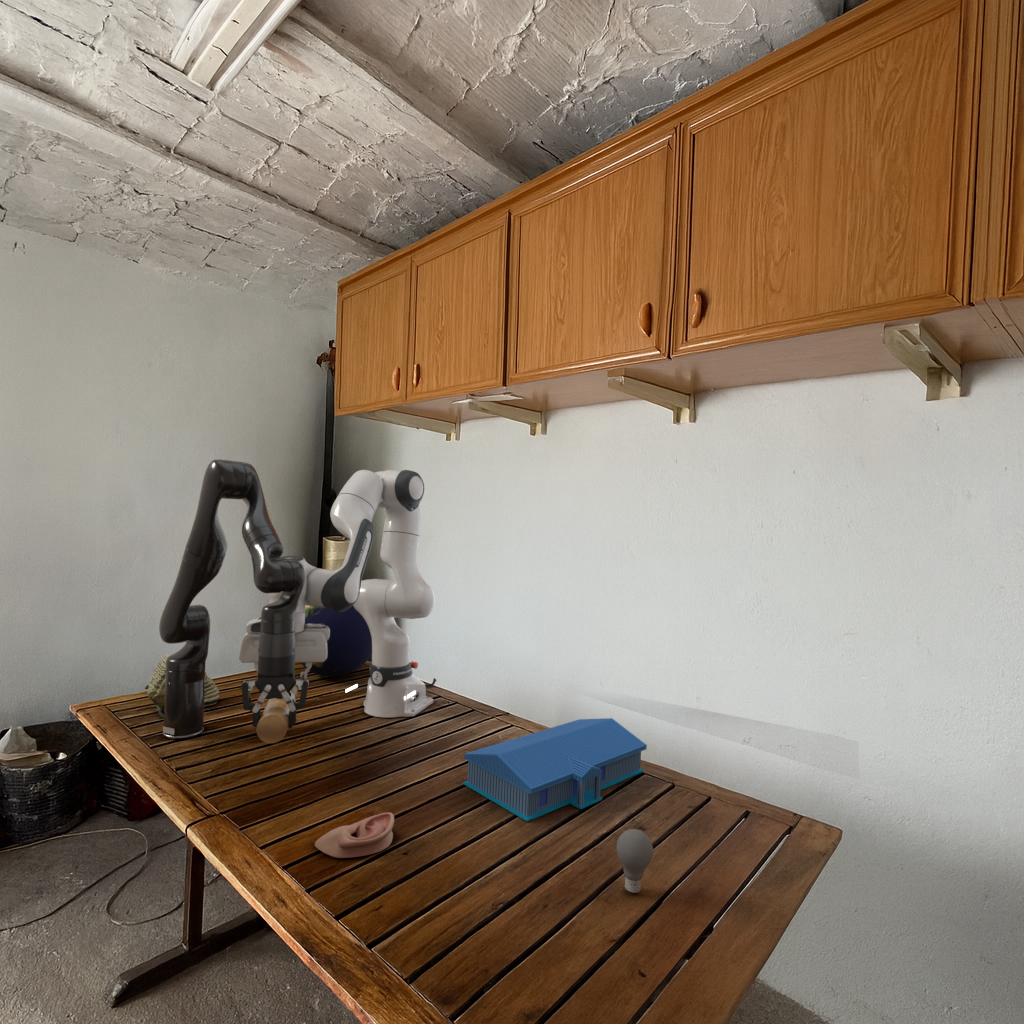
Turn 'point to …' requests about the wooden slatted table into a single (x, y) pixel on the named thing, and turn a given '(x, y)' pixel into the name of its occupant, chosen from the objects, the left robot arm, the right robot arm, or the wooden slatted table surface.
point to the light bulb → (634, 857)
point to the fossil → (158, 687)
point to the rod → (275, 719)
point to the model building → (555, 766)
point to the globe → (341, 640)
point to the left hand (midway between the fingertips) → (274, 727)
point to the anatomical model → (358, 837)
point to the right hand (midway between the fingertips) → (283, 680)
